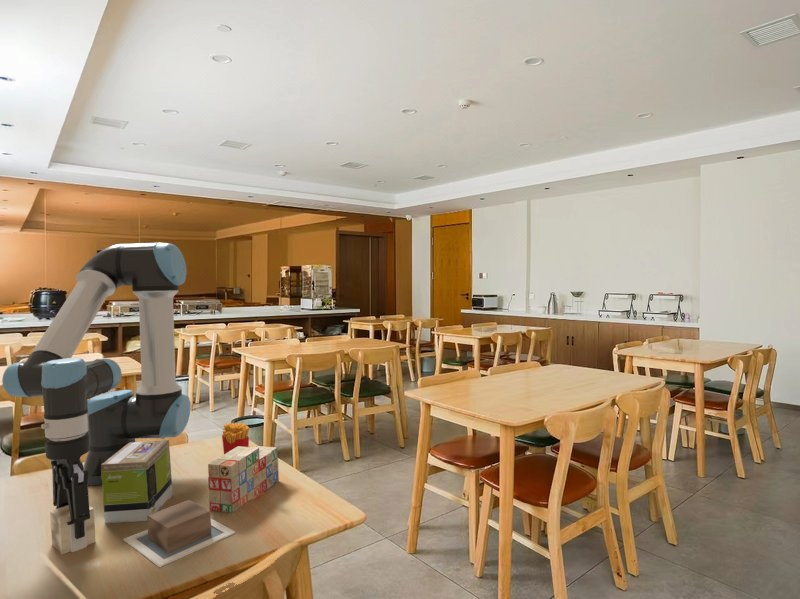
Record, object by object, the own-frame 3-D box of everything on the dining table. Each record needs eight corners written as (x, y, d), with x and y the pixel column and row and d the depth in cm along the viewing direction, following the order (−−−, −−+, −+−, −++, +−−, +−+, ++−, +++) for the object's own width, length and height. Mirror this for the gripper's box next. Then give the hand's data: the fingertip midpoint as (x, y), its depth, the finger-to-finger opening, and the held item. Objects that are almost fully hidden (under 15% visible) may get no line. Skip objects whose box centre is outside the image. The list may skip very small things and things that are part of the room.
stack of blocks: (258, 479, 139) (257, 434, 139) (279, 481, 138) (277, 436, 137) (209, 515, 119) (207, 463, 118) (232, 518, 117) (231, 465, 116)
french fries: (220, 468, 147) (218, 424, 146) (231, 463, 151) (230, 420, 150) (242, 474, 142) (241, 428, 142) (254, 469, 146) (252, 424, 145)
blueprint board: (123, 544, 106) (123, 538, 106) (196, 515, 118) (196, 510, 118) (159, 572, 96) (159, 566, 96) (235, 537, 108) (235, 531, 108)
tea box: (132, 498, 128) (129, 440, 127) (173, 496, 129) (171, 438, 128) (103, 528, 113) (99, 462, 112) (150, 525, 114) (147, 460, 113)
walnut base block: (148, 538, 106) (147, 515, 106) (189, 521, 113) (188, 499, 113) (168, 553, 101) (167, 528, 100) (211, 534, 107) (210, 511, 107)
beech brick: (52, 549, 105) (50, 510, 104) (84, 537, 109) (82, 500, 109) (62, 559, 101) (60, 519, 100) (95, 546, 105) (93, 508, 105)
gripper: (31, 431, 107) (36, 539, 108) (62, 450, 95) (68, 571, 96) (71, 423, 113) (76, 525, 114) (106, 439, 101) (111, 554, 102)
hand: (72, 546), depth 105 cm, fingers closed on beech brick, 6 cm apart
